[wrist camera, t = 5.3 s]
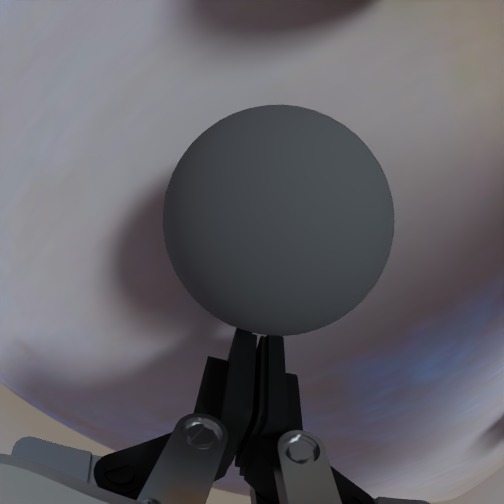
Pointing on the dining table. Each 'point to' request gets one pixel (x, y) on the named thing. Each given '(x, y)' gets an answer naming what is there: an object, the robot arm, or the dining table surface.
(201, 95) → the dining table surface
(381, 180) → the dark grey ball
